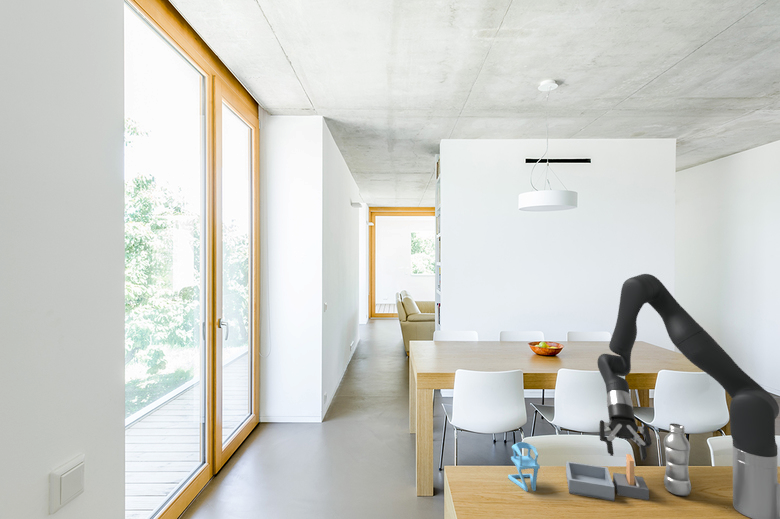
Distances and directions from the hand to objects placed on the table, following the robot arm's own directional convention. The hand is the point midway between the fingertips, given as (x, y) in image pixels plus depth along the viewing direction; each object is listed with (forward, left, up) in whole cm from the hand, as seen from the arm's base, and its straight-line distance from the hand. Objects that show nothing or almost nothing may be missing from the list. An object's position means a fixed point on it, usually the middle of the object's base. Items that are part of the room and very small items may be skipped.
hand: (627, 457), depth 126 cm
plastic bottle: (-13, 0, -9) cm, 16 cm away
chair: (+30, +10, -9) cm, 33 cm away
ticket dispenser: (0, +4, -8) cm, 9 cm away
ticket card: (0, +4, -8) cm, 9 cm away
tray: (+11, +5, -8) cm, 15 cm away
